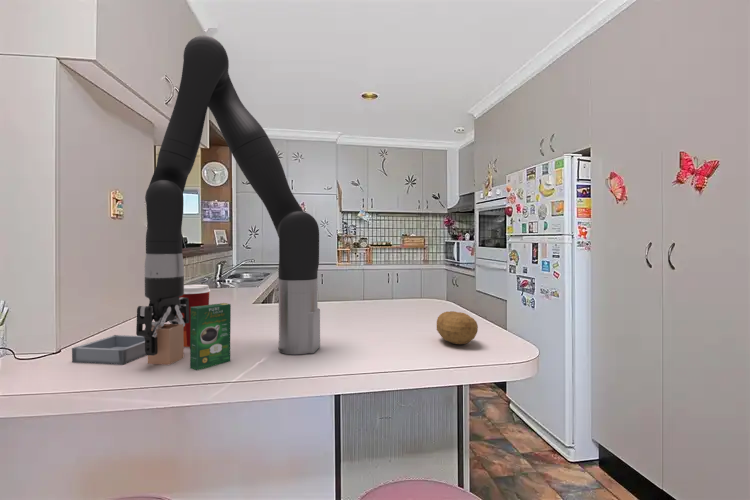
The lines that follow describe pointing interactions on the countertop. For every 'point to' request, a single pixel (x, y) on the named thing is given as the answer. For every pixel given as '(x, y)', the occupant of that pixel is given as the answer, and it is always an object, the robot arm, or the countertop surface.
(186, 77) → the robot arm
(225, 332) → the coffee box
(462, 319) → the potato
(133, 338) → the tray
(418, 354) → the countertop surface
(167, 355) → the light brown open box
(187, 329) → the coffee cup
